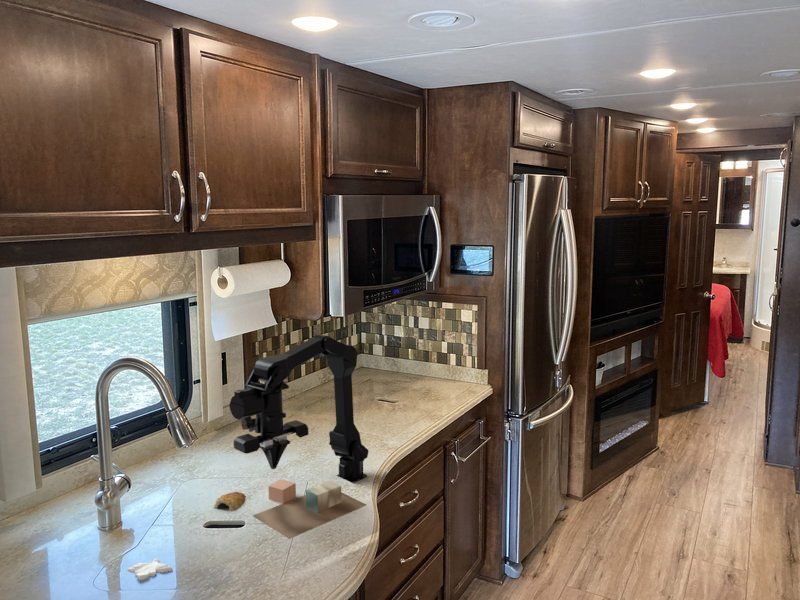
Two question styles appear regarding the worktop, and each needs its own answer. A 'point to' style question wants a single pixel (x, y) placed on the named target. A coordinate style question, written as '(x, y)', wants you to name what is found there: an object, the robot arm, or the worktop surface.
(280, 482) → the terracotta cube
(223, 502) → the pastry
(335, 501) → the maple block
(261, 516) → the walnut board
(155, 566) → the acanthus leaf ornament
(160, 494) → the worktop surface
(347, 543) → the worktop surface
